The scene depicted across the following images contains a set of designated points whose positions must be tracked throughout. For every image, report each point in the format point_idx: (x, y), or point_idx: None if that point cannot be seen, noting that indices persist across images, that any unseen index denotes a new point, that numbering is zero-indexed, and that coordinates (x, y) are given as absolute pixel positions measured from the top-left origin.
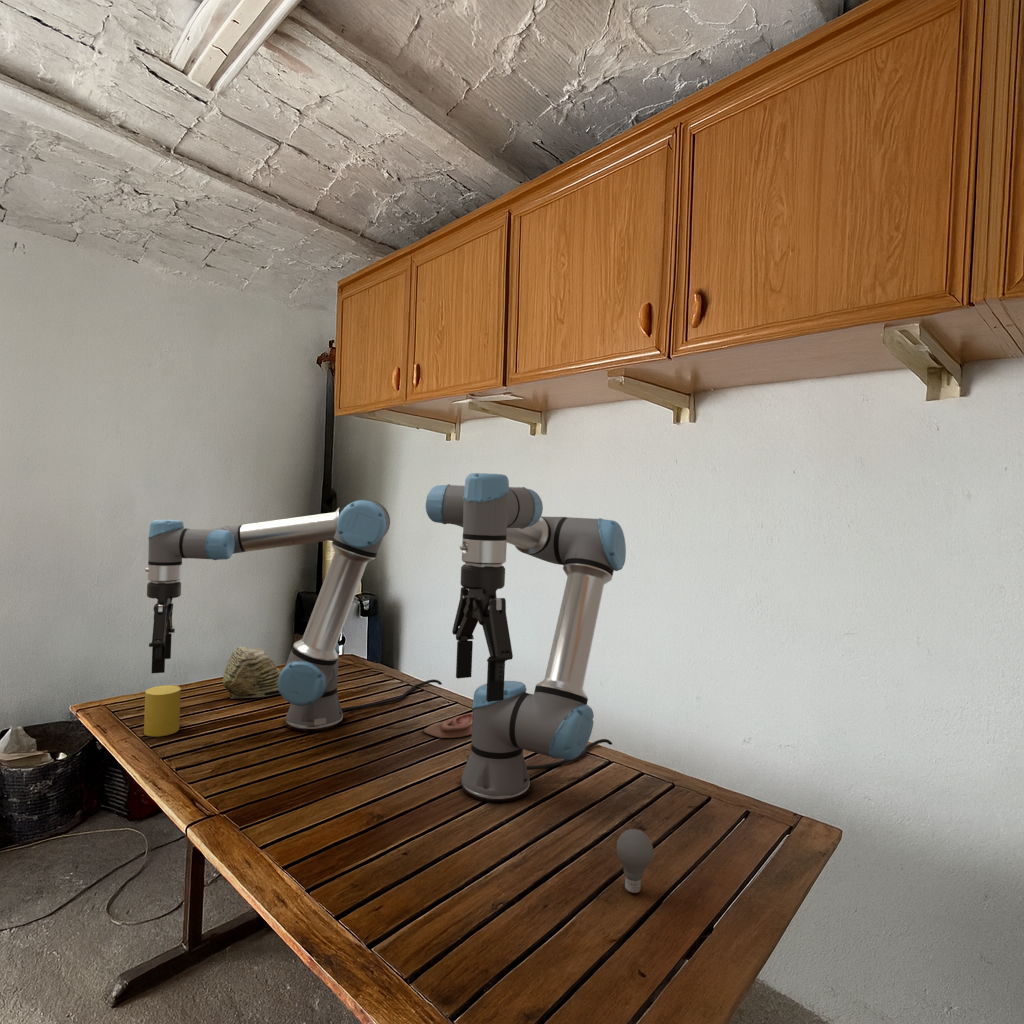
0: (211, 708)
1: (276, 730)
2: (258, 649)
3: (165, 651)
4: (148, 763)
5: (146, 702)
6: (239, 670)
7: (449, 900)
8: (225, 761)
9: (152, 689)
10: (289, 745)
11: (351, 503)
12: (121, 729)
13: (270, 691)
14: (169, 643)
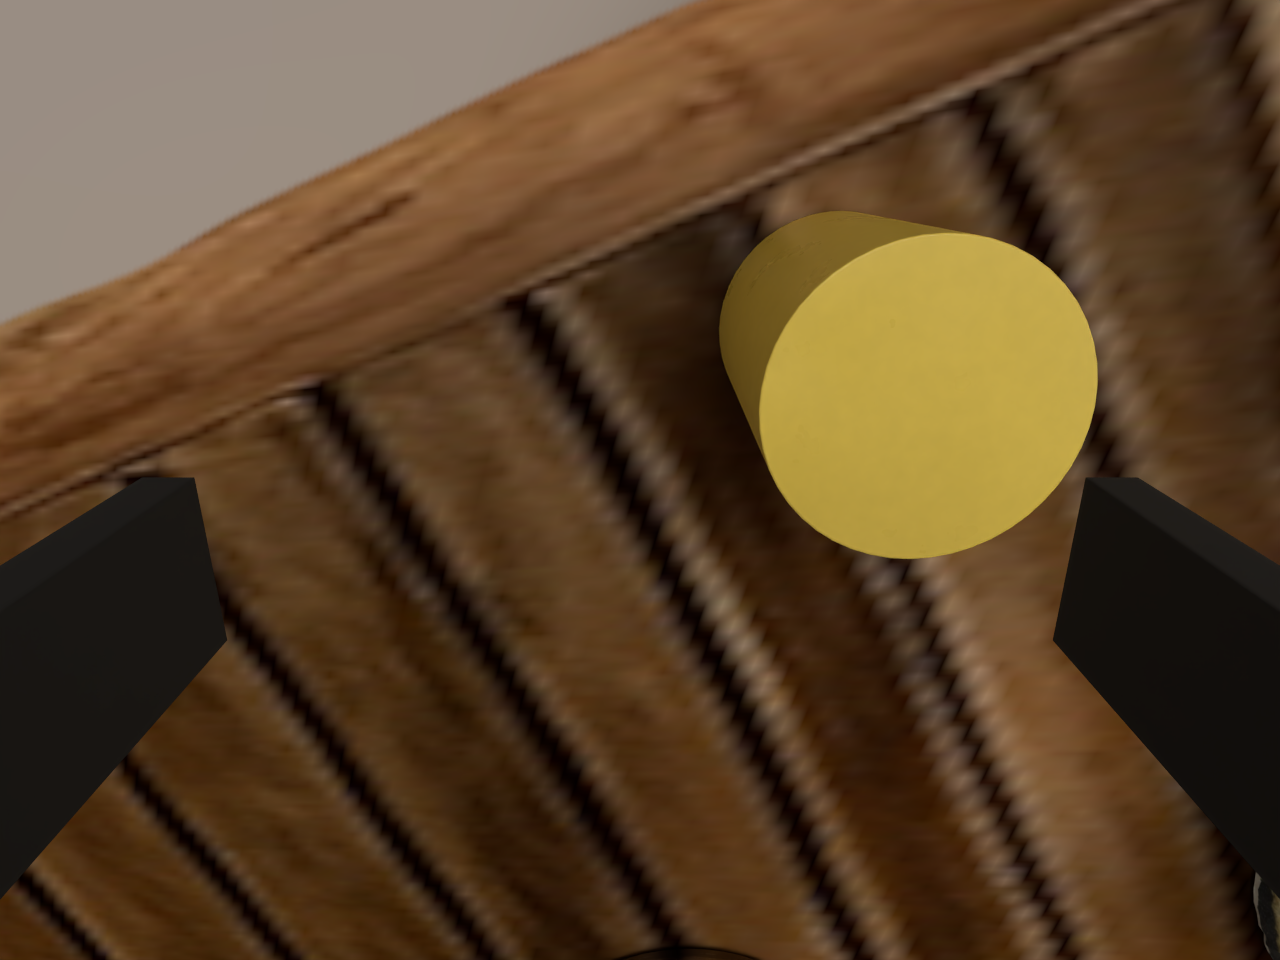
0: None
1: (625, 905)
2: None
3: (1138, 642)
4: (248, 315)
5: (832, 249)
6: None
7: None
8: (223, 695)
9: (986, 299)
10: (392, 945)
11: None
12: (973, 28)
13: (1276, 925)
14: (1228, 811)
